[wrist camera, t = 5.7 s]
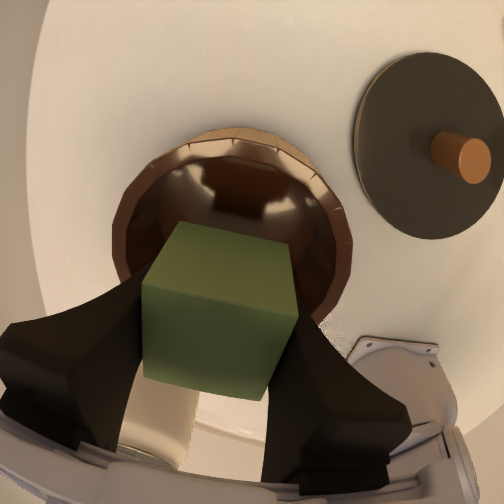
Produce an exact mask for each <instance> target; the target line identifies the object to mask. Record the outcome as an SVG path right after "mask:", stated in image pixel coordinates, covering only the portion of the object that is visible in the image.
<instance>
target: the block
mask: <svg viewBox="0 0 504 504" xmlns="http://www.w3.org/2000/svg"><path fill="white" fill-rule="evenodd" d="M298 317H299V314H298V307H297V300H296V293H295V287H294V280H293V273H292V267H291V260H290V254H289V248H288V245H287V244H284V243H280V242H275V241H271V240H266V239H262V238H257V237H253V236H248V235H244V234H239V233H235V232H230V231H226V230H221V229H216V228H212V227H207V226H203V225H198V224H193V223H189V222H184V221H179V223H178V224H177V226H176V227H175V229H174V230H173V232H172V234H171V235H170V237H169V238H168V240H167V242H166V243H165V245H164V246H163V248H162V250H161V251H160V253H159V255H158V256H157V258H156V259H155V261H154V263H153V264H152V266H151V268H150V269H149V271H148V273H147V275H146V276H145V278H144V280H143V281H142V295H141V327H142V361H143V377H144V378H148V379H151V380H155V381H159V382H163V383H167V384H171V385H175V386H179V387H184V388H188V389H193V390H197V391H202V392H207V393H212V394H217V395H223V396H228V397H234V398H240V399H247V400H254V401H261V399H262V397H263V395H264V393H265V391H266V389H267V386H268V384H269V382H270V380H271V378H272V376H273V374H274V371H275V369H276V367H277V365H278V363H279V360H280V358H281V356H282V354H283V351H284V349H285V347H286V345H287V342H288V340H289V338H290V336H291V333H292V331H293V329H294V326H295V324H296V321H297V319H298Z"/></svg>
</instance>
